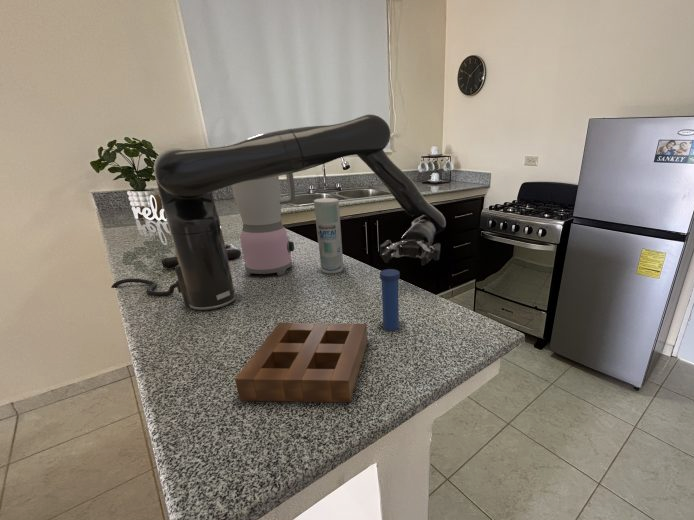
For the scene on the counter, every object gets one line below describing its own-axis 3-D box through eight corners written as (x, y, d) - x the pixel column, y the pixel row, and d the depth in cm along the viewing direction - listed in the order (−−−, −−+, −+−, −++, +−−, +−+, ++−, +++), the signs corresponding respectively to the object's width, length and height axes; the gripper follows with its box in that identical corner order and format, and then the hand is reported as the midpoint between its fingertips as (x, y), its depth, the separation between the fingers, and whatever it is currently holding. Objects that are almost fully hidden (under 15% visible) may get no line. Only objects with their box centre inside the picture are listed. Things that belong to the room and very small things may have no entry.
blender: (239, 278, 93) (213, 152, 81) (253, 263, 104) (232, 150, 92) (300, 276, 96) (284, 153, 84) (307, 261, 107) (294, 150, 95)
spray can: (345, 265, 104) (339, 198, 97) (342, 273, 99) (337, 202, 91) (322, 265, 104) (315, 198, 96) (319, 273, 98) (311, 202, 90)
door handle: (161, 249, 108) (160, 260, 95) (233, 239, 119) (241, 249, 106) (164, 259, 109) (163, 272, 96) (235, 249, 120) (243, 259, 107)
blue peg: (380, 331, 70) (378, 276, 65) (382, 321, 73) (381, 268, 69) (399, 331, 70) (398, 276, 65) (400, 322, 73) (400, 269, 69)
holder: (239, 401, 51) (234, 378, 50) (282, 340, 66) (279, 322, 65) (350, 402, 51) (348, 380, 50) (367, 342, 66) (366, 323, 65)
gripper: (391, 224, 92) (372, 241, 78) (445, 227, 90) (435, 245, 75) (392, 251, 95) (374, 273, 80) (444, 255, 93) (435, 277, 78)
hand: (404, 259), depth 78 cm, fingers open, 8 cm apart
